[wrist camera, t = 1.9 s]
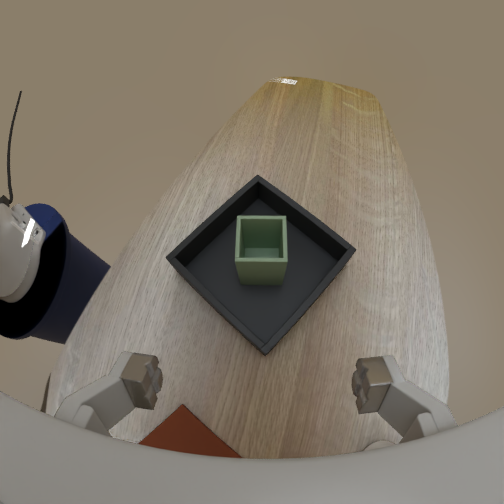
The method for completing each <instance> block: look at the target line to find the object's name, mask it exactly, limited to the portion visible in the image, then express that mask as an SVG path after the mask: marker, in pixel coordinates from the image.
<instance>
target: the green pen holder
mask: <svg viewBox="0 0 504 504" xmlns="http://www.w3.org/2000/svg"><path fill="white" fill-rule="evenodd" d="M287 262H288V257H287V225H286V216H237V227H236V247H235V264H236V268H237V272H238V276H239V280H240V284H241V285H282V284H283V279H284V275H285V271H286V266H287Z"/></svg>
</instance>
